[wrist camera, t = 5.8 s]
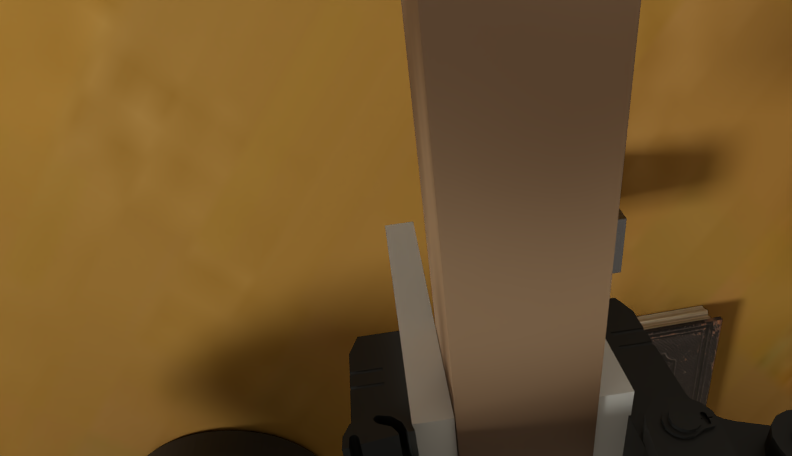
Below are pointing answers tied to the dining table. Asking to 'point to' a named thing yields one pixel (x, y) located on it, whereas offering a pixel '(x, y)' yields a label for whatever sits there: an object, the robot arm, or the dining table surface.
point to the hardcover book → (686, 346)
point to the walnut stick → (521, 207)
